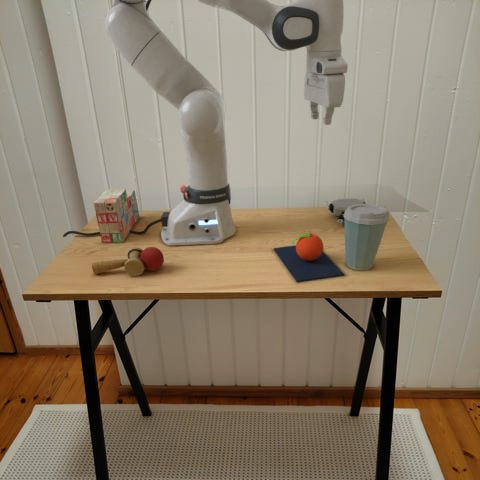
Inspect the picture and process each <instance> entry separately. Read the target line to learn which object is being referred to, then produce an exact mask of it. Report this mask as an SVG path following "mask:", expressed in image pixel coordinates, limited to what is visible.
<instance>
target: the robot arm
mask: <svg viewBox="0 0 480 480" xmlns="http://www.w3.org/2000/svg"><path fill="white" fill-rule="evenodd" d="M195 1H196V2H198V3H200V4H203V5H205V6H209V7H212V8H216V9H221V10H224V11H228V12H231V13H232V14H235V15H237V16H238V17H240V18H242V19H243V20H245V21H246V22H248V23H250V24H251V25H252V26H255V27H256V28H257V29H259V30H260V31H261V32H262V33H263V34H264V35H265V37H266V39H267V40H268V41H269V43H270V44H271V45H272V46H273V48H274V49H276V50H278V51H281V52H295V51H297V50H299V49H301V48H304V47H305V48H306V55H305V56H306V59H305V60H306V61H305V74H304V83H303V98H304V100H305V101H308V102H309V110H310V119H312V120H318V119H319V118H320V117H319V115H320V112H319V108H318V107H319V106H318V105H320V106H323V107H324V111H325V112H324V115H323V117H322V124H323V125H325V126H330V125H331V124H332V119H333V116H334V113H335V108H340V107H341V106H342V105H343V102H344V97H345V89H346V87H345V86H346V75H345V74H347V73H348V69H349V68H348V66H349V65H348V63H347V61H346V60H345V59H344V57H343V55H342V52H343V51H342V50H343V49H342V41H341V40H342V35H343V31H344V20H345V19H344V17H345V16H344V15H345V14H344V13H345V12H344V11H345V9H344V8H345V7H344V5H345V4H344V0H295V1H292V2H291V3H289V4H287V5H277V4H275V3H271V2H270V1H269V0H195ZM151 2H152V0H113V4H112V7H111V8H110V10H109V11H108V13H107V14H106V18H105V21H104V29H105V32H106V35H107V37H108V38H109V40H110V41H111V42H112V44H113V45H114V47H115V48H116V50H117V51H118V52H119V53H120V55H121V56H122V57H123V58H124V60H125V61H126V62H127V63H128V64H129V65H130V67H132V68H133V69H134V71H135V72H136V73H137V74H138V75H139V76H140V77H141V78H142V79H143V81H145V83H146V84H147V85H148V86H149V87H150V88H151V89H152V90H153V91H154V92H155V93H156V94H158V95H159V96H161V97H162V98H163V99H164V100H166V101H167V102H168V103H169V104H170V105H172V107H174V108H175V109H176V110H177V111H178V117H179V124H180V131H181V137H182V142H183V147H184V151H185V156H186V157H185V158H186V166H187V172H188V174H187V175H188V186H186V185H184V184H182V185H180V188H179V190H180V192H181V194H182V197H183V200H182V201H181V202H179V204H177V206H175V207H174V208H173V209H172V210H170V211H163V212H162V214H161V216H160V218H159V219H157V220H154V221H152V222H151V223H149V224H148V225H146V227H145V228H144V230H141V231H136V230H132V229H131V230H130V232H129V234H134V235H144V234H146V233H147V232H148V231H149V229H150V228H151V227H152V226H154V225H156V224H159V223H161V227H162V229H161V231H160V238H161V241H162V243H164V244H165V245H167V246H169V247H171V246H189V245H190V246H195V245H214V244H221V243H222V242H224V241H225V240H226V239H228V238H230V237H232V236H233V235H235V234H236V232H237V228H236V225H235V223H234V219H233V214H232V209H231V200H232V194H231V186H230V183H229V177H228V175H229V173H228V158H227V157H228V156H227V155H228V154H227V148H226V140H225V139H226V138H225V126H224V117H225V114H226V103H225V99H224V97H223V95H222V94H221V92H220V91H219V90H217V88H216V87H215V86H214V84H212V83H211V82H210V81H209V80H208V79H207V78H206V77H205V76H204V75H203V74H202V73H201V72H200V71H199V70H198V69H197V67H195V66H194V65H193V64H192V63H191V62H190V61H189V60H188V59H187V58H186V57H185V56H184V55H183V54H182V53H181V51H180V50H179V49H178V48H177V47H176V46H175V45H174V44H173V42H172V41H171V40H170V38H169V37H168V36H167V35H166V34H165V33H164V32H163V31H162V30H161V29H160V27H159V26H158V25H157V24H156V23H155V22H154V20H153V19H152V17H151V16H150V15H149V13H148V9H149V8H150V6H151ZM70 234H72V235H73V234H75V235H79V236H85V237H91V236H93V237H94V236H99V235H100V231H96V232H82V231H77V230H68V231H67V232H65V233H64V234H63V235H62V238H65V237H67V236H68V235H70Z"/></svg>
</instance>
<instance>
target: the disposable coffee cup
mask: <svg viewBox="0 0 480 480" xmlns="http://www.w3.org/2000/svg"><path fill="white" fill-rule="evenodd" d="M388 209H389V208H386V207H385V206H384V207H383V206H381V205H376V204H369V203H368V204H367V203H366V204H358V205H352V206H349V207H348V208H347V209H346V210H345V213H344V216H343V217H344V222H343V223H344V248H345V249H344V251H345V263H346V266H347V267H348V268H350V269H352V270H354V271H355V270H356V271H368V270H369V269H371V268H372V266H373V265H374V263H375V260H376V257H377V254H378V251H379V248H380V245H381V242H382V238H383V235H384V232H385V230H386V226H387V222H389V221H390V212H389V211H388Z"/></svg>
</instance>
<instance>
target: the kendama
mask: <svg viewBox="0 0 480 480" xmlns="http://www.w3.org/2000/svg"><path fill="white" fill-rule="evenodd" d="M164 262H165V257H164V254H163V251H161V249H159V248H158V247H156V246H148V247H146V248H144V249H142V248H141V247H138V246H133V247H131V248H130V249H129V250H128V252H127V259H126V258H123V259H113V260H105V261H104V260H103V261H95V262H92V263H91V269H92V273H93V274H94V275H98V274H101V273H105V272H108V271H113V270H117V269H121V268H123V267H124V268H123V269H124V271H125V273H126V274H127V275H129V276H132V277H137V276H140V275H142V274H143V273H144V270H147V271H150V272H151V271H152V272H153V271H157V270H159V269H161V267H163V264H164Z"/></svg>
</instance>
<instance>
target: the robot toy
mask: <svg viewBox="0 0 480 480" xmlns="http://www.w3.org/2000/svg"><path fill="white" fill-rule="evenodd" d="M325 202H326V204H327V210H329V212H330V213H331V214H333V215H334V216H337V217H338V218H337V223H338V224H339V223H340V224H344V223H345V222H344V217H343V216H344V213H345V210H346V209H347V208H348V207H349V206H352V205H358V204H367V203H366V201H365V198H362V199H359V198H350V197H349V198H347V197H346V198H345V197H344V198H337V199H334V200H333V201H331V203H328V200H326V201H325Z"/></svg>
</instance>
